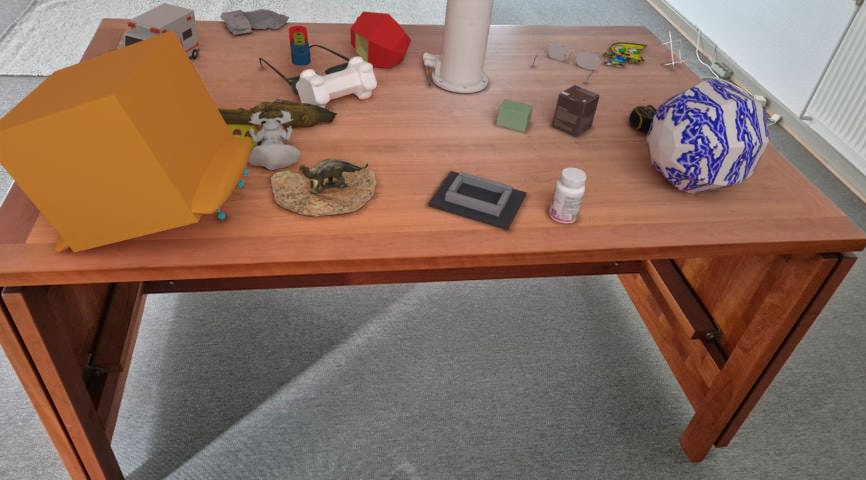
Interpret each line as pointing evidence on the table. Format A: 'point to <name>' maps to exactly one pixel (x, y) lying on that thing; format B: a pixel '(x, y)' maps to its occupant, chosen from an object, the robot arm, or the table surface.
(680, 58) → the airplane model
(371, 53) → the red angular block
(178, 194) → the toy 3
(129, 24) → the toy vehicle
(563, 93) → the box
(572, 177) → the pill bottle
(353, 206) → the dinosaur figurine
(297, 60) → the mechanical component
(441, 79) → the robot arm
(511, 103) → the green rectangular block
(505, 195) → the base
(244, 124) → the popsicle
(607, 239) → the table surface
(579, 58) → the eyeglasses
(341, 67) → the sunglasses
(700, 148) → the ornament
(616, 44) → the toy
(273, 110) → the olive long flat piece
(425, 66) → the pen
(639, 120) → the tape measure
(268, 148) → the figurine
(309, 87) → the dog bone
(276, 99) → the circuit board
